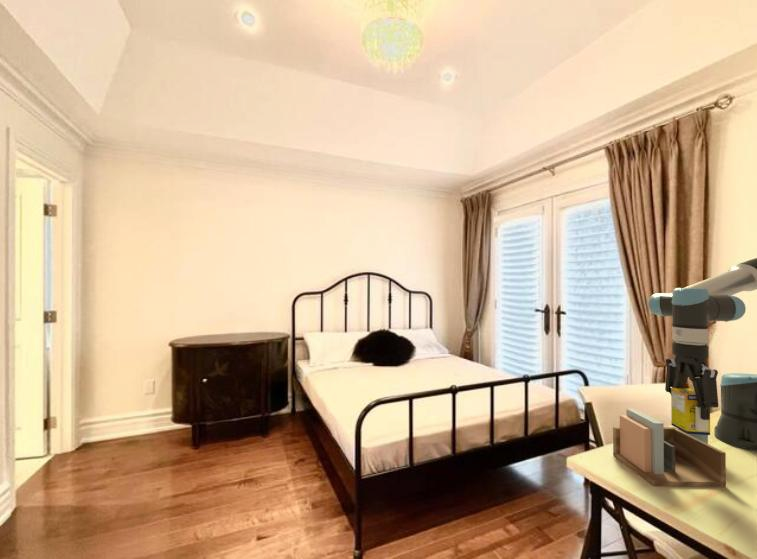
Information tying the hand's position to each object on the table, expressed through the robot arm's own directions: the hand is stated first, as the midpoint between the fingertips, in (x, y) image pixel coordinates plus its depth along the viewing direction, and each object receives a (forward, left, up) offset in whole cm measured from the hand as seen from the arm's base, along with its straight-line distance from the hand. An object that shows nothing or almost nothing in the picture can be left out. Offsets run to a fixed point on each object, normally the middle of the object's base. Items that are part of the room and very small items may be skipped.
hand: (690, 424), depth 95 cm
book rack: (+4, -4, -15) cm, 16 cm away
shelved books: (+10, -5, -13) cm, 17 cm away
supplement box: (0, 0, -2) cm, 2 cm away
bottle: (-13, -14, -15) cm, 24 cm away
